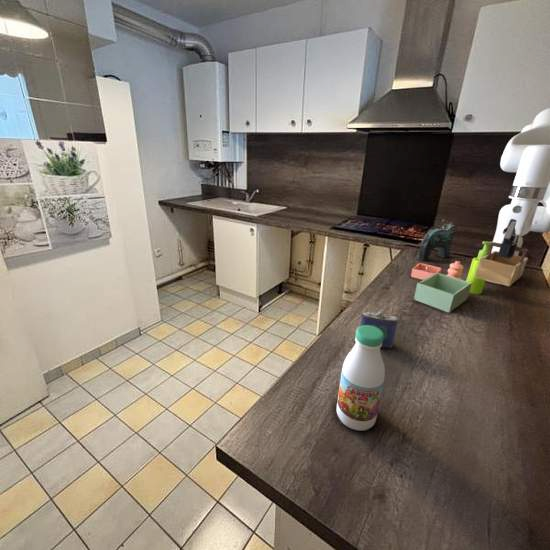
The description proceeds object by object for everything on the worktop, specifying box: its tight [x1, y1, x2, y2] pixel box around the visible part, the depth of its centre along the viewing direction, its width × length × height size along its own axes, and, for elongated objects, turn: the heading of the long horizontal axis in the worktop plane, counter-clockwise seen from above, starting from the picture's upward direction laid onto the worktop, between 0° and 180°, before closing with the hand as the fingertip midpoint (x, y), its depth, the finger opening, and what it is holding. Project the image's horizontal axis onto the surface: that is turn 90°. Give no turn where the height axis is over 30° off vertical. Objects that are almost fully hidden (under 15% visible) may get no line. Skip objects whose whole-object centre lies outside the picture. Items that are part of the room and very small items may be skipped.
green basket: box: [413, 273, 472, 314], centre depth 104 cm, size 16×12×7 cm
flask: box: [359, 309, 399, 349], centre depth 78 cm, size 9×3×11 cm, turn 74°
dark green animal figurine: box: [418, 218, 458, 262], centre depth 144 cm, size 20×6×20 cm, turn 114°
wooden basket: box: [475, 241, 529, 287], centre depth 88 cm, size 13×9×10 cm
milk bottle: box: [336, 325, 386, 432], centre depth 54 cm, size 8×8×20 cm
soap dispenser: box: [465, 241, 493, 295], centre depth 109 cm, size 6×7×20 cm
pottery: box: [410, 260, 464, 281], centre depth 120 cm, size 18×10×10 cm, turn 49°
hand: (505, 256), depth 87 cm, fingers closed on wooden basket, 1 cm apart
